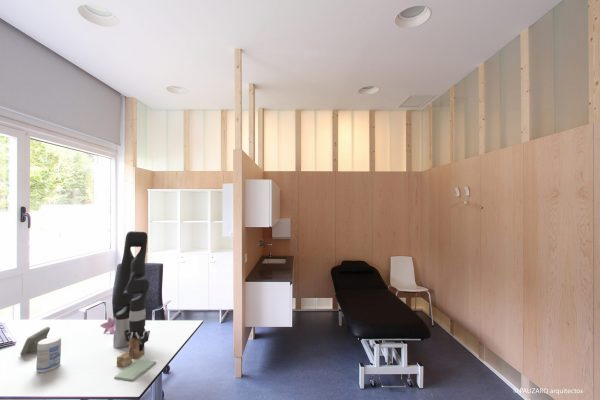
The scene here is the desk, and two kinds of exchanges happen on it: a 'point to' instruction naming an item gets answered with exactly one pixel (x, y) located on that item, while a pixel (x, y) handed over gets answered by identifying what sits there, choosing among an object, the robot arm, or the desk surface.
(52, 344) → the supplement tub
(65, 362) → the desk surface
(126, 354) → the short oak block
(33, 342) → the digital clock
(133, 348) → the tall walnut block
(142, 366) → the pad
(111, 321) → the lily
